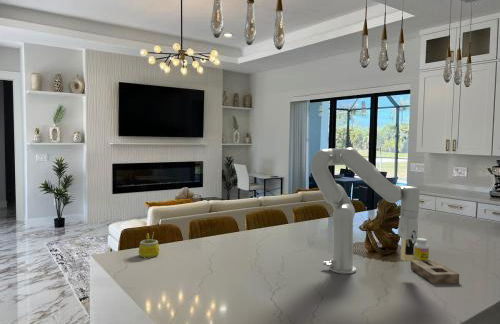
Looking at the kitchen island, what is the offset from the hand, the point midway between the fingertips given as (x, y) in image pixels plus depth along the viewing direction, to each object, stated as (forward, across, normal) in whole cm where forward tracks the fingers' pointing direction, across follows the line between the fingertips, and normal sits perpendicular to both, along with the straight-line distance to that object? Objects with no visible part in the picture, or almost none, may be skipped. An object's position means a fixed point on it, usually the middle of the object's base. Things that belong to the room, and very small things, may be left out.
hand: (407, 252), depth 174 cm
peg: (+3, 0, 0) cm, 3 cm away
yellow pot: (+16, -40, -124) cm, 131 cm away
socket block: (+11, -2, +14) cm, 18 cm away
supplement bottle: (+11, -18, +17) cm, 28 cm away
